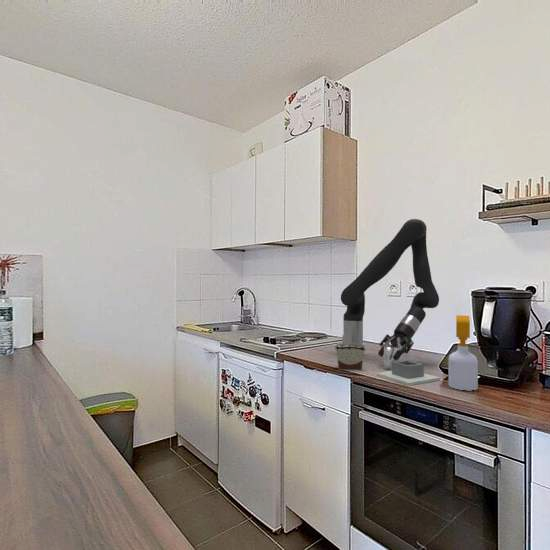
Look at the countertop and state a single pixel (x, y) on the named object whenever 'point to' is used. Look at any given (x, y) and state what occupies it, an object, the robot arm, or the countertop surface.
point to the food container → (350, 356)
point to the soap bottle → (463, 360)
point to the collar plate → (408, 373)
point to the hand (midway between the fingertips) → (387, 357)
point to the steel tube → (388, 357)
